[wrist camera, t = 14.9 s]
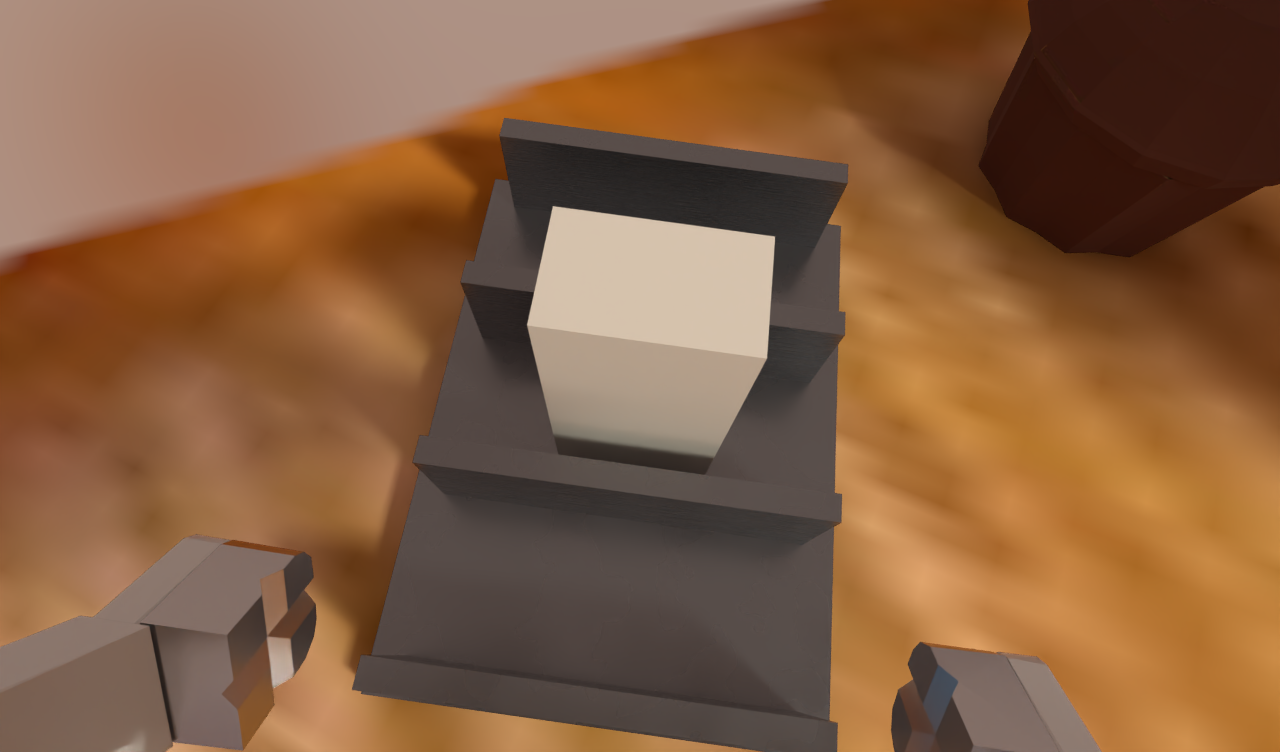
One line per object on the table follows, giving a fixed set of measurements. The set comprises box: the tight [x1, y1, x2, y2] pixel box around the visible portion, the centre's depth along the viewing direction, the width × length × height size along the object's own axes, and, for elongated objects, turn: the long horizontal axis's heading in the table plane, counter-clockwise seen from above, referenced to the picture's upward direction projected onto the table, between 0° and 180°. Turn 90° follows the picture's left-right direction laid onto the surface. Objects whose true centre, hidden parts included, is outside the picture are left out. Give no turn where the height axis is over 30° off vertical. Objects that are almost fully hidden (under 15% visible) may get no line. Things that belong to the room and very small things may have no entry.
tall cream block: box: [527, 206, 775, 475], centre depth 19 cm, size 3×5×10 cm, turn 82°
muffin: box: [979, 0, 1280, 257], centre depth 26 cm, size 12×11×10 cm
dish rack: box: [352, 118, 848, 752], centre depth 23 cm, size 19×14×5 cm
